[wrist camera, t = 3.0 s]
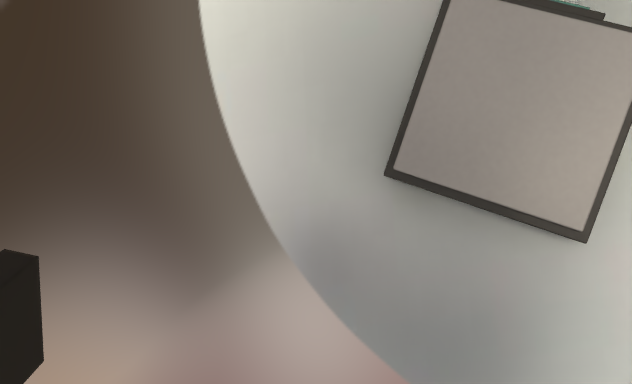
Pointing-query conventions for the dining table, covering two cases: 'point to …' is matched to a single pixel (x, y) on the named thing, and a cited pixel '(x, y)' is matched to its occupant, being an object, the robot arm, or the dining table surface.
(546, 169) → the kitchen scale
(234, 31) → the dining table surface
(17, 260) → the robot arm
